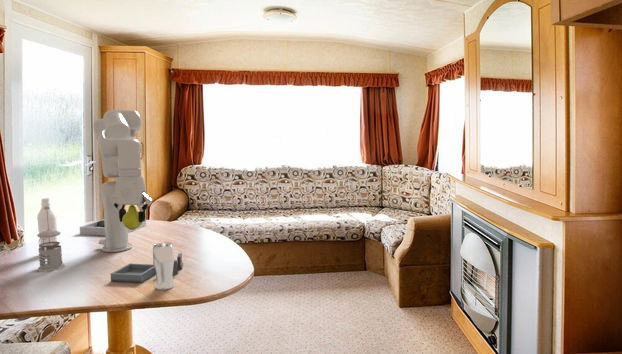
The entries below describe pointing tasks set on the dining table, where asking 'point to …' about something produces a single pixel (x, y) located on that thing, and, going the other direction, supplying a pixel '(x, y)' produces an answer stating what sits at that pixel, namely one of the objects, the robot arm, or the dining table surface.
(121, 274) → the grey square tray
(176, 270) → the clip
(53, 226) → the water bottle
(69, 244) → the dining table surface
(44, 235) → the french press
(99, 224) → the pipe connector
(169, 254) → the beer glass
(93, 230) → the tray
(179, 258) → the clip
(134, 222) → the fruit
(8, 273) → the dining table surface
